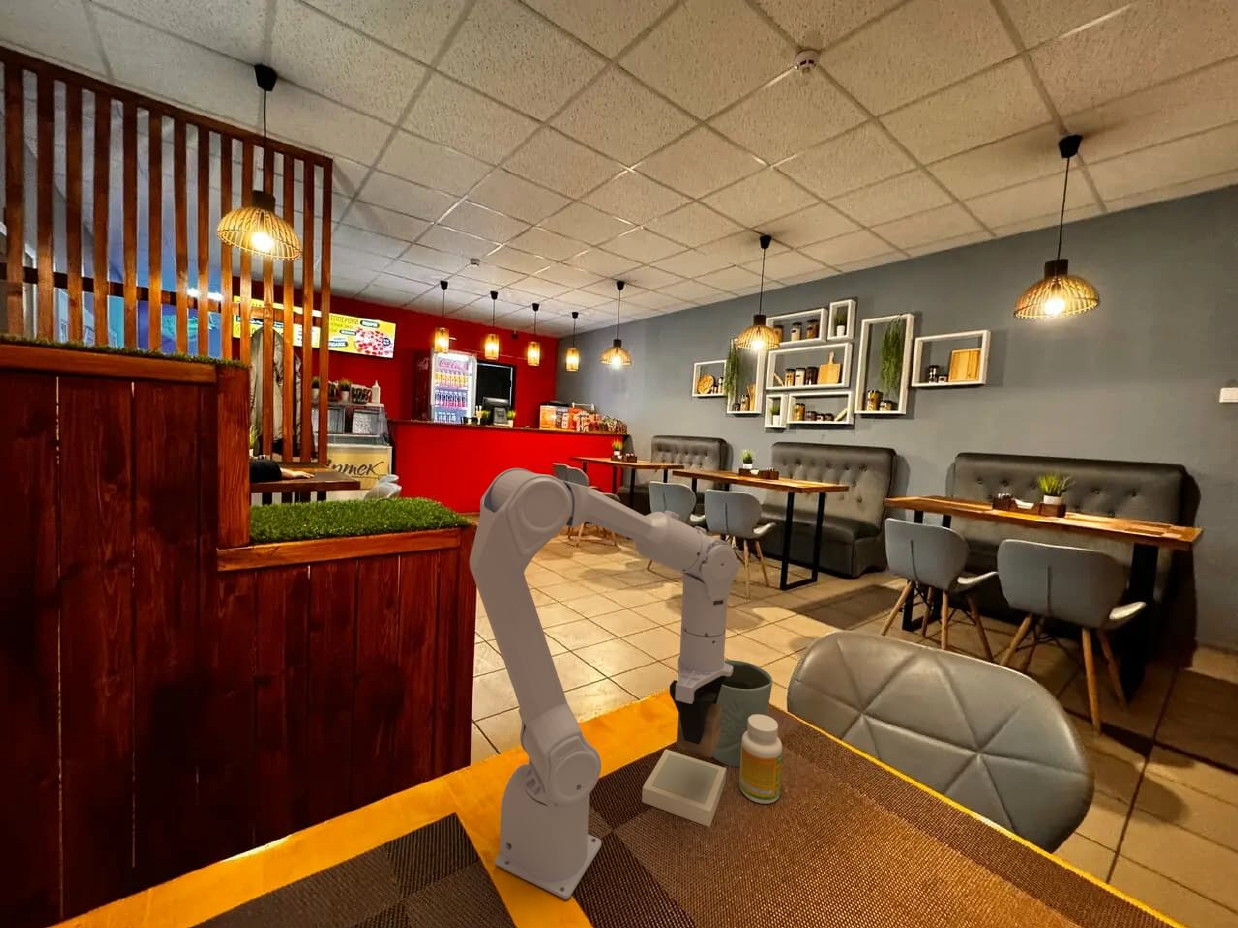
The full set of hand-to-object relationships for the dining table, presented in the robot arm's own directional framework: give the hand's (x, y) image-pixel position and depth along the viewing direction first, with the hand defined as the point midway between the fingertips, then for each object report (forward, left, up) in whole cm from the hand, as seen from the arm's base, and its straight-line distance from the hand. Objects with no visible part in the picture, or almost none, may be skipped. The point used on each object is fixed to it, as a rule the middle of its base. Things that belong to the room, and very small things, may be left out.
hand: (698, 730), depth 64 cm
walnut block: (0, 0, -2) cm, 2 cm away
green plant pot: (+2, +14, -10) cm, 18 cm away
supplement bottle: (+7, +6, -10) cm, 14 cm away
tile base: (-2, +1, -10) cm, 10 cm away
